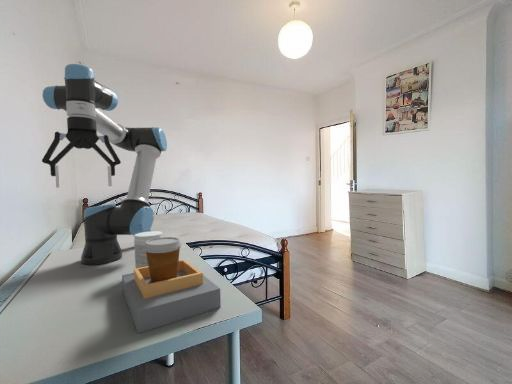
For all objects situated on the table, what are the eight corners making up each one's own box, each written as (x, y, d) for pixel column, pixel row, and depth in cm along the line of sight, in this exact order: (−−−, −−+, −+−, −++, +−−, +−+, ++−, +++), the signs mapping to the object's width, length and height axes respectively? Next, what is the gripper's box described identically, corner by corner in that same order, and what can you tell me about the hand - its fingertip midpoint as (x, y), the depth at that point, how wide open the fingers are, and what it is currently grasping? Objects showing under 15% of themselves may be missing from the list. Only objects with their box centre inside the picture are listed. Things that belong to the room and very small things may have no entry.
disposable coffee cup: (141, 294, 64) (139, 246, 64) (149, 279, 74) (147, 237, 73) (181, 290, 66) (179, 243, 66) (183, 276, 76) (182, 235, 75)
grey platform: (121, 286, 82) (119, 262, 81) (183, 273, 93) (182, 251, 93) (138, 333, 57) (136, 297, 57) (220, 307, 68) (219, 277, 68)
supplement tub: (167, 275, 91) (166, 234, 90) (138, 281, 86) (136, 237, 85) (160, 267, 99) (159, 229, 98) (133, 273, 94) (131, 232, 93)
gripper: (26, 110, 70) (31, 188, 72) (128, 120, 84) (130, 185, 85) (31, 115, 77) (35, 187, 78) (124, 124, 90) (127, 185, 92)
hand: (85, 186), depth 82 cm, fingers open, 13 cm apart
